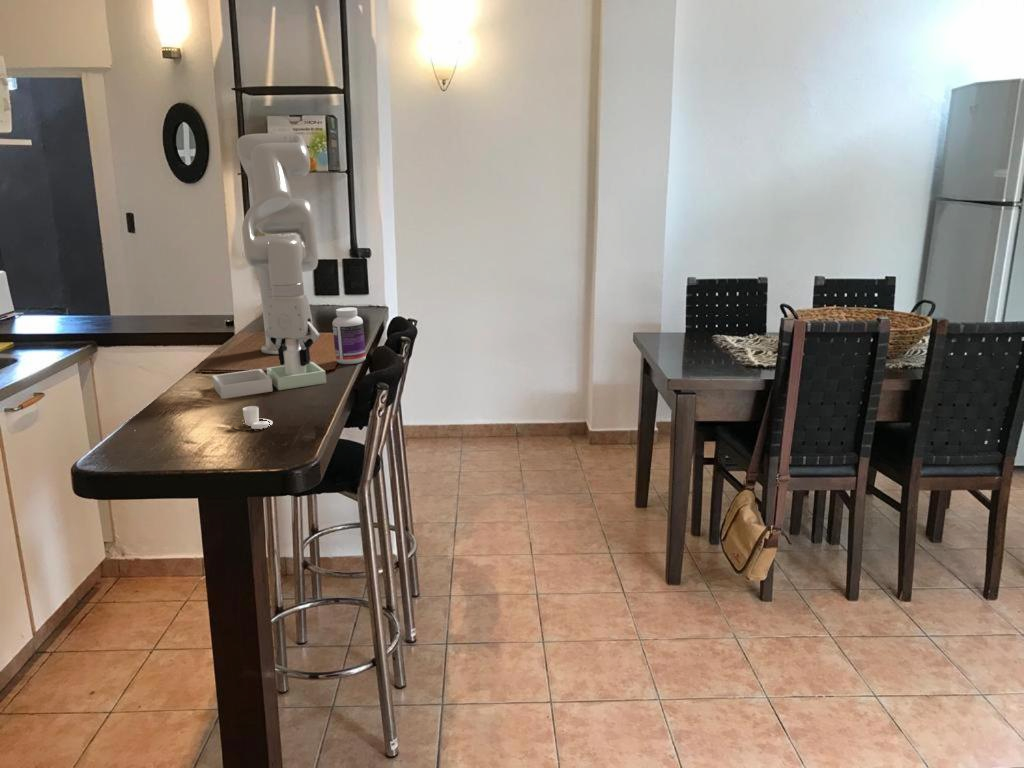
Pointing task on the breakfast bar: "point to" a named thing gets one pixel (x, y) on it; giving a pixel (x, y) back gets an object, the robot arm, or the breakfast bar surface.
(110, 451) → the breakfast bar surface
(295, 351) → the pepper shaker
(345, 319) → the pill bottle
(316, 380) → the green bin
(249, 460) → the breakfast bar surface
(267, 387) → the grey bin
